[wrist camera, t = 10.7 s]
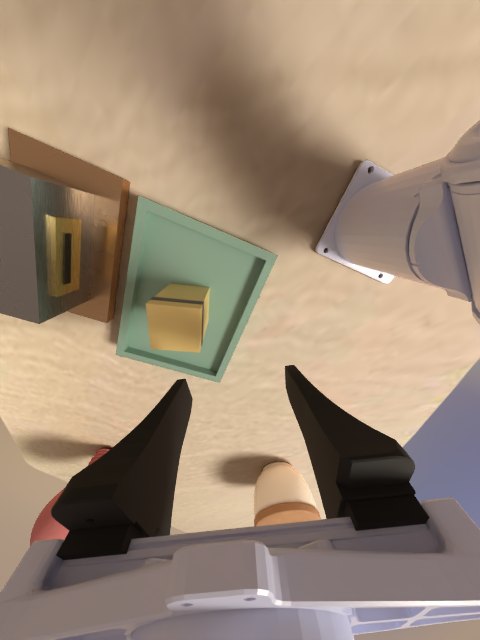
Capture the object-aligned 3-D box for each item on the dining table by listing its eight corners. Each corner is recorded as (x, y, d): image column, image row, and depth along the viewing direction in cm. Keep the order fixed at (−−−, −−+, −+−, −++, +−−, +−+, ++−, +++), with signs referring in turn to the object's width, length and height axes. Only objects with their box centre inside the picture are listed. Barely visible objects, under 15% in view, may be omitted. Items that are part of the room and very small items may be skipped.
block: (210, 286, 19) (201, 308, 14) (208, 322, 21) (200, 353, 16) (169, 282, 19) (145, 303, 14) (171, 318, 21) (150, 349, 15)
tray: (273, 253, 19) (277, 255, 17) (220, 372, 25) (219, 382, 24) (148, 199, 17) (138, 195, 15) (124, 345, 23) (115, 354, 21)
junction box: (130, 181, 16) (69, 152, 10) (113, 318, 21) (67, 351, 16) (24, 135, 15) (-119, 68, 9) (34, 294, 20) (-50, 321, 14)
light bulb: (101, 431, 30) (26, 545, 19) (139, 449, 32) (92, 560, 21) (79, 450, 32) (-1, 564, 21) (116, 466, 34) (62, 576, 23)
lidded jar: (269, 448, 33) (282, 521, 25) (315, 462, 36) (341, 533, 28) (240, 477, 37) (243, 549, 29) (284, 488, 40) (297, 558, 31)
